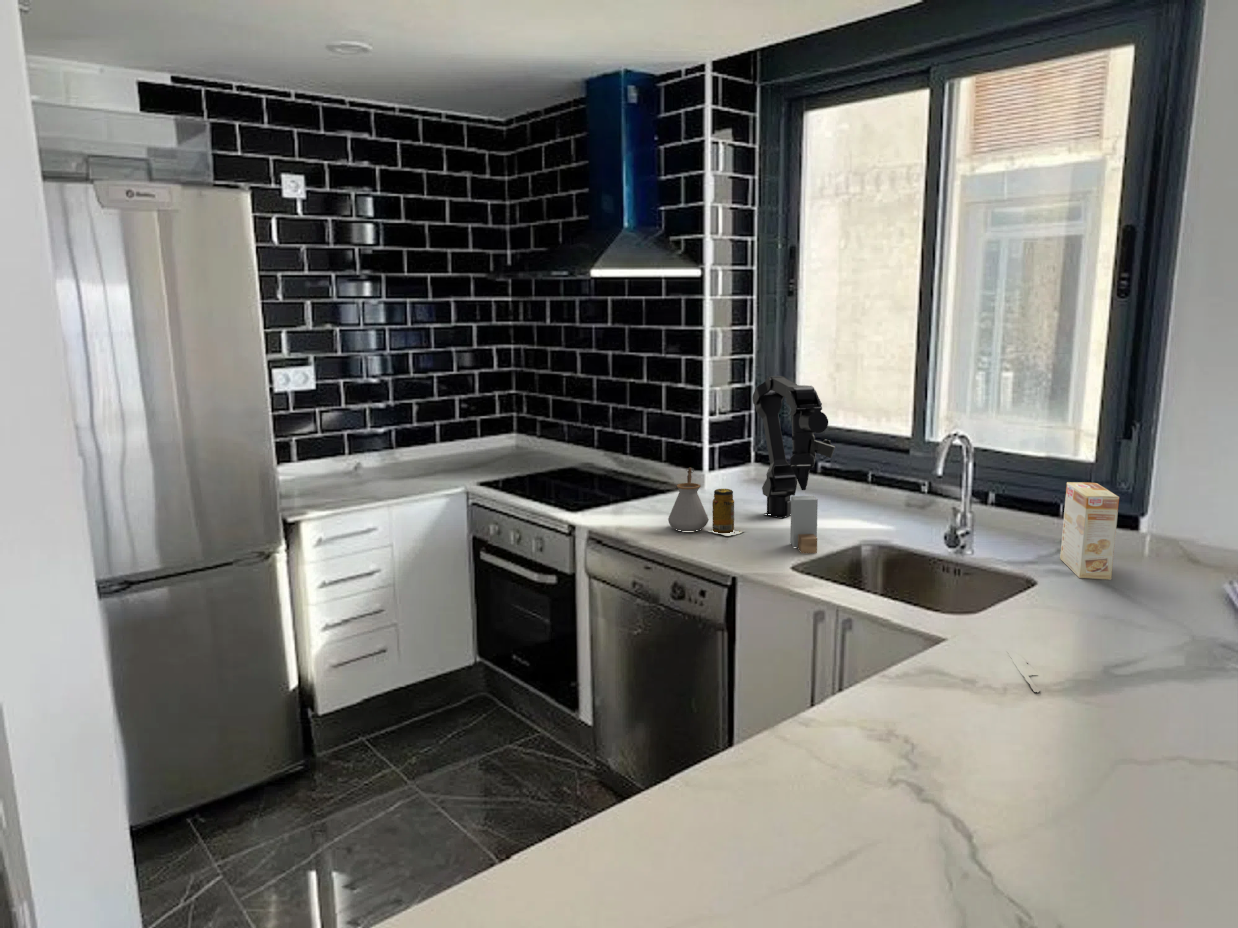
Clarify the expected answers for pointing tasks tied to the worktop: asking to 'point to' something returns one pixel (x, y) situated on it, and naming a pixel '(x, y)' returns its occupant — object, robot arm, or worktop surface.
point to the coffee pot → (688, 508)
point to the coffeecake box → (1089, 530)
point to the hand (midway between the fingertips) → (804, 488)
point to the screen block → (803, 517)
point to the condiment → (723, 511)
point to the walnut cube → (807, 543)
